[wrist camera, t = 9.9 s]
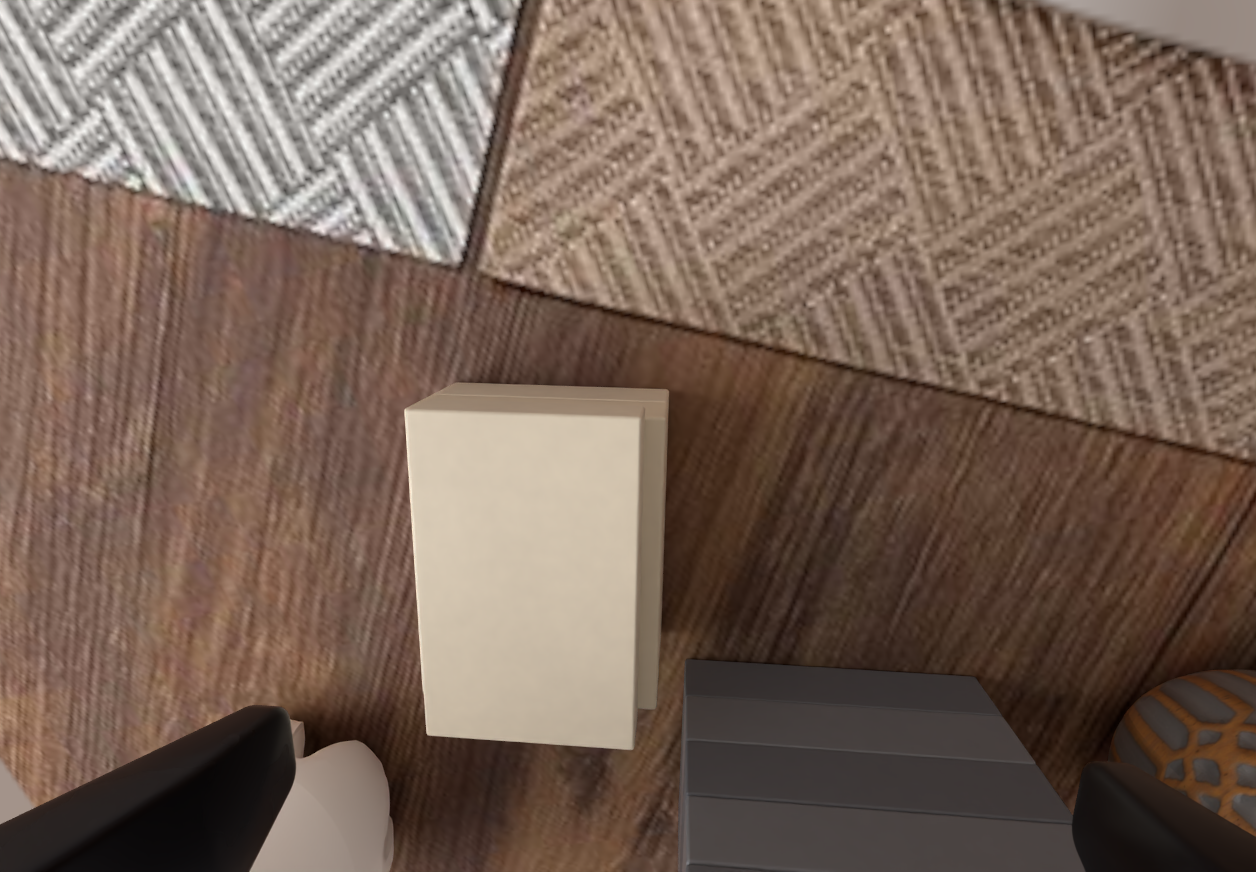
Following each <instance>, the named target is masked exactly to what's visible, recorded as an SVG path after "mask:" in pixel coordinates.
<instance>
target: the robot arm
mask: <svg viewBox="0 0 1256 872" xmlns="http://www.w3.org/2000/svg"><path fill="white" fill-rule="evenodd" d="M295 775H296V759H295V751H294V744H293V736H292V729H291V721H290V716H289V714H288V712H287V711H286V710H285V709H284V708H282V707H277V706H262V705H252V706H248V707H245V708H243V709H241V710H239V711H237V712H235V713H233V714H230V715H228V716H226V717H224V718H222V719H220V720H218V721H216V722H214V723H212V724H209V725H207V726H205V727H203V728H201V729H199V730H197V731H195V732H193V733H191V734H189V735H186V736H184V737H182V738H180V739H178V740H176V741H174V742H172V743H170V744H168V745H166V746H163V747H161V748H159V749H157V750H155V751H153V752H151V753H149V754H147V755H145V756H143V757H140V758H138V759H136V760H134V761H132V762H130V763H128V764H126V765H124V766H122V767H119V768H117V769H115V770H113V771H111V772H109V773H107V774H105V775H103V776H101V777H99V778H96V779H94V780H92V781H90V782H88V783H86V784H84V785H82V786H80V787H78V788H76V789H73V790H71V791H69V792H67V793H65V794H63V795H61V796H59V797H57V798H55V799H53V800H50V801H48V802H46V803H44V804H42V805H40V806H38V807H36V808H34V809H32V810H30V811H27V812H25V813H23V814H21V815H19V816H17V817H15V818H13V819H11V820H9V821H6V822H5V823H2V824H0V872H250V870H251V868H252V866H253V864H254V862H255V860H256V858H257V856H258V854H259V852H260V850H261V848H262V846H263V844H264V842H265V840H266V838H267V836H268V834H269V832H270V830H271V828H272V826H273V824H274V822H275V820H276V818H277V816H278V814H279V812H280V810H281V808H282V806H283V804H284V802H285V800H286V798H287V796H288V794H289V792H290V790H291V788H292V786H293V783H294V779H295ZM1072 836H1073V841H1074V845H1075V848H1076V851H1077V853H1078V856H1079V858H1080V860H1081V862H1082V865H1083V867H1084V869H1085V872H1256V837H1255V836H1254V835H1252V834H1250V833H1249V832H1247V831H1245V830H1243V829H1242V828H1240V827H1238V826H1237V825H1235V824H1233V823H1232V822H1230V821H1228V820H1226V819H1225V818H1223V817H1221V816H1220V815H1218V814H1216V813H1214V812H1213V811H1211V810H1209V809H1208V808H1206V807H1204V806H1203V805H1201V804H1199V803H1197V802H1196V801H1194V800H1192V799H1191V798H1189V797H1187V796H1186V795H1184V794H1182V793H1180V792H1179V791H1177V790H1175V789H1174V788H1172V787H1170V786H1169V785H1167V784H1165V783H1163V782H1162V781H1160V780H1158V779H1157V778H1155V777H1153V776H1151V775H1150V774H1148V773H1146V772H1145V771H1143V770H1141V769H1140V768H1138V767H1136V766H1134V765H1131V764H1128V763H1119V762H1104V761H1092V762H1089V763H1088V764H1086V766H1085V767H1084V768H1083V771H1082V774H1081V779H1080V784H1079V789H1078V794H1077V799H1076V804H1075V809H1074V814H1073V819H1072Z"/></svg>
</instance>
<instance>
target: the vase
mask: <svg viewBox="0 0 1256 872" xmlns="http://www.w3.org/2000/svg"><path fill="white" fill-rule="evenodd" d="M1108 762H1119V763H1128V764H1131V765H1134V766H1136V767H1138V768H1140V769H1141V770H1143V771H1145V772H1146V773H1148V774H1150V775H1151V776H1153V777H1155V778H1157V779H1158V780H1160V781H1162V782H1163V783H1165V784H1167V785H1169V786H1170V787H1172V788H1174V789H1175V790H1177V791H1179V792H1180V793H1182V794H1184V795H1186V796H1187V797H1189V798H1191V799H1192V800H1194V801H1196V802H1197V803H1199V804H1201V805H1203V806H1204V807H1206V808H1208V809H1209V810H1211V811H1213V812H1214V813H1216V814H1218V815H1220V816H1221V817H1223V818H1225V819H1226V820H1228V821H1230V822H1232V823H1233V824H1235V825H1237V826H1238V827H1240V828H1242V829H1243V830H1245V831H1247V832H1249V833H1250V834H1252V835H1254V836H1255V837H1256V671H1254V670H1209V671H1202V672H1197V673H1192V674H1189V675H1185V676H1181V677H1178V678H1175V679H1172V680H1169V681H1167V682H1164V683H1162V684H1160V685H1158V686H1156V687H1155V688H1153V689H1151V690H1150V691H1148V692H1147V693H1145V694H1144V695H1143V696H1141V697H1140V698H1139V699H1138V700H1137V701H1136V702H1135V703H1134V704H1133V705H1132V706H1131V707H1130V708H1129V710H1128V711H1127V712H1126V713H1125V715H1124V717H1123V718H1122V720H1121V721H1120V723H1119V725H1118V727H1117V729H1116V731H1115V733H1114V735H1113V738H1112V741H1111V744H1110V749H1109V756H1108Z"/></svg>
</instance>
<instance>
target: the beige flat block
mask: <svg viewBox="0 0 1256 872" xmlns="http://www.w3.org/2000/svg"><path fill="white" fill-rule="evenodd" d="M405 413H406V428H407V443H408V459H409V474H410V489H411V504H412V520H413V535H414V550H415V565H416V581H417V596H418V611H419V626H420V642H421V657H422V672H423V687H424V703H425V718H426V733H427V735H429V736H442V737H456V738H470V739H484V740H498V741H512V742H526V743H540V744H554V745H569V746H583V747H597V748H611V749H625V750H633V749H634V747H635V737H636V728H637V718H638V677H639V637H640V596H641V555H642V515H643V474H644V433H645V408H644V407H643V406H627V405H597V404H568V403H538V402H508V401H479V400H449V399H425V400H423V401H421V402H419V403H417V404H416V405H414V406H412V407H410V408H408V409H406V412H405Z"/></svg>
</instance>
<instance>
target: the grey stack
mask: <svg viewBox="0 0 1256 872" xmlns="http://www.w3.org/2000/svg"><path fill="white" fill-rule="evenodd" d="M1072 819H1073V815H1072V814H1071V812H1070V811H1069V809H1068V808H1067V807H1066V805H1065V804H1064V802H1063V801H1062V800H1061V798H1060V797H1059V795H1058V794H1057V792H1056V791H1055V790H1054V788H1053V787H1052V785H1051V784H1050V783H1049V781H1048V780H1047V778H1046V777H1045V776H1044V774H1043V773H1042V771H1041V770H1040V768H1039V767H1038V766H1037V765H1036V763H1035V761H1034V760H1033V758H1032V757H1031V755H1030V754H1029V753H1028V751H1027V750H1026V748H1025V747H1024V746H1023V744H1022V743H1021V741H1020V740H1019V739H1018V737H1017V736H1016V734H1015V733H1014V731H1013V730H1012V729H1011V727H1010V726H1009V724H1008V723H1007V722H1006V720H1005V719H1004V718H1003V717H1002V714H1001V713H1000V711H999V710H998V709H997V707H996V706H995V704H994V703H993V702H992V700H991V699H990V697H989V696H988V694H987V693H986V692H985V690H984V689H983V687H982V686H981V685H980V683H979V682H978V680H977V679H976V678H975V677H971V676H954V675H938V674H922V673H905V672H889V671H873V670H856V669H840V668H824V667H807V666H791V665H774V664H758V663H742V662H725V661H709V660H693V659H686V660H685V673H684V695H683V718H682V741H681V763H680V786H679V809H678V872H1085V869H1084V867H1083V865H1082V862H1081V860H1080V858H1079V856H1078V853H1077V851H1076V848H1075V845H1074V841H1073V836H1072Z"/></svg>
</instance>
